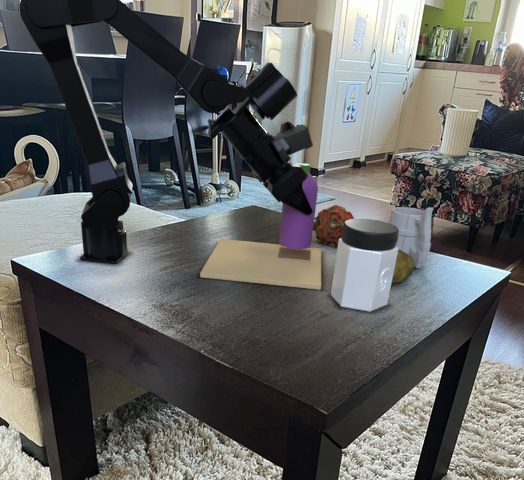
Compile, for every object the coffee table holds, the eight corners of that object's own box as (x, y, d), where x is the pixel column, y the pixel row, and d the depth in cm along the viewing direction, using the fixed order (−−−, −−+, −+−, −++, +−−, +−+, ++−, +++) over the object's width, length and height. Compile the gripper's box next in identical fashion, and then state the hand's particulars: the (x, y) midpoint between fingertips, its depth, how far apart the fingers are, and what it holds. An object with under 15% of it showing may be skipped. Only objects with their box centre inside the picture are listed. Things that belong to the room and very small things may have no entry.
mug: (406, 255, 107) (418, 194, 102) (439, 276, 98) (455, 210, 92) (372, 256, 105) (383, 194, 100) (402, 277, 95) (417, 210, 90)
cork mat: (200, 277, 88) (200, 272, 88) (220, 242, 106) (220, 238, 105) (320, 289, 87) (321, 284, 87) (320, 252, 105) (321, 248, 104)
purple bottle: (293, 250, 96) (302, 168, 89) (272, 241, 100) (279, 161, 93) (317, 246, 99) (328, 166, 92) (296, 237, 103) (304, 160, 96)
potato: (421, 292, 90) (431, 245, 86) (345, 288, 89) (353, 241, 85) (407, 274, 97) (416, 231, 93) (337, 270, 96) (343, 227, 92)
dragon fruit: (336, 261, 106) (318, 251, 117) (371, 236, 105) (350, 228, 116) (315, 225, 102) (298, 218, 113) (351, 199, 102) (330, 194, 113)
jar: (362, 316, 79) (376, 237, 73) (320, 298, 84) (331, 223, 78) (396, 302, 85) (411, 228, 79) (355, 286, 90) (367, 215, 84)
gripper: (301, 111, 80) (358, 189, 87) (274, 101, 96) (325, 168, 103) (246, 163, 82) (306, 235, 89) (228, 145, 98) (281, 207, 105)
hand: (305, 209), depth 97 cm, fingers closed on purple bottle, 6 cm apart
